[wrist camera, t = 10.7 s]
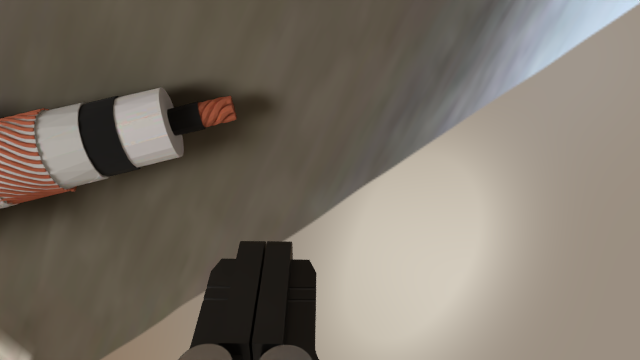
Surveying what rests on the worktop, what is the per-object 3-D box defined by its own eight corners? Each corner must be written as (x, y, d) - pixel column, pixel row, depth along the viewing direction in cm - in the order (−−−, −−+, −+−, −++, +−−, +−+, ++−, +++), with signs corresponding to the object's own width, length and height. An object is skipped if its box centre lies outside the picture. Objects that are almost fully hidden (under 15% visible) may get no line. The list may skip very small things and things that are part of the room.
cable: (238, 104, 48) (254, 187, 43) (-109, 188, 46) (-139, 286, 41) (210, 22, 40) (226, 111, 34) (-218, 120, 38) (-274, 232, 32)
